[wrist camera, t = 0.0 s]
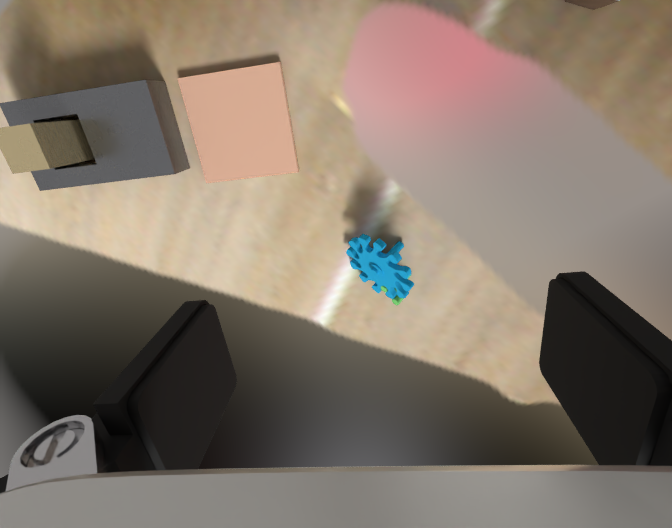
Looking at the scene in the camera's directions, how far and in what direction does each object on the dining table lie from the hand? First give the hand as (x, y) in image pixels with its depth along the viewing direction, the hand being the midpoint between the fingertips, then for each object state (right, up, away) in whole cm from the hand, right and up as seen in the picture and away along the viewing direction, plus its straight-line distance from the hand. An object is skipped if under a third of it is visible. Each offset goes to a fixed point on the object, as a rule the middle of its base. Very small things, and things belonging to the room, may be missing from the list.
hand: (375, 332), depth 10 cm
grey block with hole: (-29, +18, +35) cm, 49 cm away
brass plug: (-32, +18, +35) cm, 51 cm away
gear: (+5, +3, +39) cm, 40 cm away
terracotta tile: (-12, +18, +33) cm, 40 cm away
